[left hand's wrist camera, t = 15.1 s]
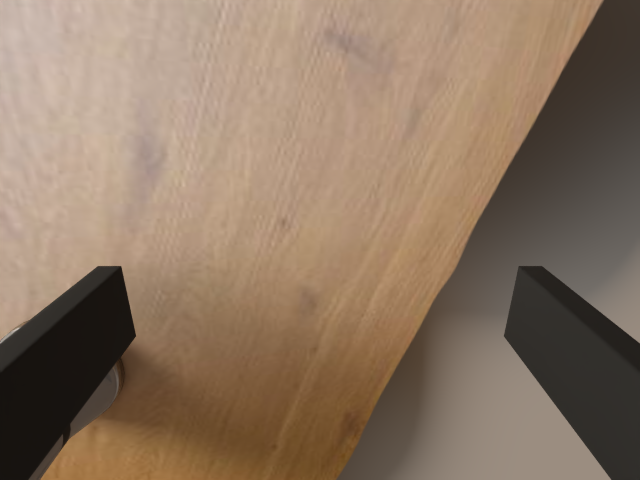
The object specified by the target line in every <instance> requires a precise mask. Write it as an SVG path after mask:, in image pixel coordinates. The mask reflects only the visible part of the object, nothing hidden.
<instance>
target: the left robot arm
mask: <svg viewBox="0 0 640 480" xmlns="http://www.w3.org/2000/svg"><path fill="white" fill-rule="evenodd" d="M135 337H136V334H135V329H134V324H133V319H132V315H131V310H130V305H129V301H128V296H127V291H126V286H125V282H124V277H123V272H122V268H121V266H98V267H96V268H95V269H94V270H93V271H91V272H90V273H89V274H88V275H86V276H85V277H84V278H82V279H81V280H80V281H79V282H77V283H76V284H75V285H74V286H72V287H71V288H70V289H69V290H67V291H66V292H65V293H64V294H62V295H61V296H60V297H58V298H57V299H56V300H55V301H53V302H52V303H51V304H50V305H48V306H47V307H46V308H45V309H43V310H42V311H41V312H39V313H38V314H37V315H36V316H34V317H33V318H32V319H31V320H29V321H26V322H24V323H22V324H20V325H19V326H17V327H16V328H15V329H13V330H12V331H11V332H10V333H8V334H7V335H6V336H4V337H3V338H2V339H1V341H0V480H40V479H41V477H42V476H43V475H44V473H45V472H46V470H47V469H48V468H49V466H50V465H51V463H52V462H53V460H54V459H55V458H56V456H57V455H58V453H59V452H60V451H61V449H62V448H63V446H64V445H65V444H66V442H67V441H68V440H69V439H70V438H71V437H72V436H73V435H75V434H76V433H77V432H79V431H80V430H81V429H83V428H84V427H85V426H86V425H88V424H89V423H90V422H92V421H93V420H94V419H95V418H97V417H98V416H99V415H101V414H102V413H103V412H105V411H106V410H107V409H108V408H109V407H110V406H111V404H112V403H113V401H114V400H115V398H116V397H117V395H118V394H119V392H120V391H121V388H122V386H123V382H124V369H123V365H122V362H121V359H120V357H121V356H122V354H123V353H124V352H125V350H126V349H127V348H128V346H129V345H130V344H131V342H132V341H133V340H134V338H135ZM504 337H505V338H506V340H507V341H508V342H509V344H510V345H511V346H512V348H513V349H514V350H515V352H516V353H517V354H518V355H519V357H520V358H521V360H522V361H523V362H524V364H525V365H526V366H527V368H528V369H529V370H530V372H531V373H532V374H533V376H534V377H535V378H536V380H537V381H538V382H539V384H540V385H541V386H542V388H543V389H544V390H545V392H546V393H547V394H548V396H549V397H550V398H551V400H552V401H553V402H554V404H555V405H556V406H557V408H558V409H559V410H560V412H561V413H562V414H563V416H564V417H565V418H566V420H567V421H568V422H569V424H570V425H571V426H572V428H573V429H574V430H575V432H576V433H577V434H578V436H579V437H580V438H581V440H582V441H583V442H584V444H585V445H586V446H587V448H588V449H589V450H590V452H591V453H592V454H593V456H594V457H595V458H596V460H597V461H598V462H599V464H600V465H601V466H602V468H603V469H604V470H605V472H606V473H607V474H608V476H609V477H610V478H611V480H640V343H638V342H637V341H636V340H635V339H633V338H632V337H631V336H629V335H628V334H627V333H626V332H624V331H623V330H622V329H621V328H619V327H618V326H617V325H616V324H614V323H613V322H612V321H611V320H609V319H608V318H607V317H606V316H604V315H603V314H602V313H601V312H599V311H598V310H597V309H595V308H594V307H593V306H592V305H590V304H589V303H588V302H587V301H585V300H584V299H583V298H582V297H580V296H579V295H578V294H576V293H575V292H574V291H573V290H571V289H570V288H569V287H568V286H566V285H565V284H564V283H563V282H561V281H560V280H559V279H557V278H556V277H555V276H554V275H552V274H551V273H550V272H549V271H547V270H546V269H545V268H544V267H542V266H519V268H518V272H517V277H516V282H515V286H514V291H513V296H512V301H511V305H510V310H509V315H508V320H507V324H506V329H505V334H504Z"/></svg>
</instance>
